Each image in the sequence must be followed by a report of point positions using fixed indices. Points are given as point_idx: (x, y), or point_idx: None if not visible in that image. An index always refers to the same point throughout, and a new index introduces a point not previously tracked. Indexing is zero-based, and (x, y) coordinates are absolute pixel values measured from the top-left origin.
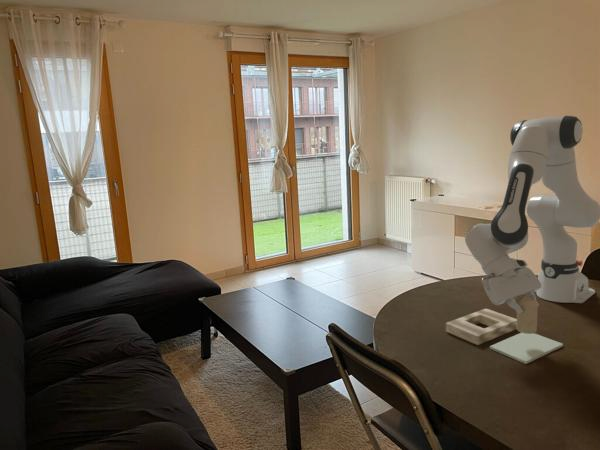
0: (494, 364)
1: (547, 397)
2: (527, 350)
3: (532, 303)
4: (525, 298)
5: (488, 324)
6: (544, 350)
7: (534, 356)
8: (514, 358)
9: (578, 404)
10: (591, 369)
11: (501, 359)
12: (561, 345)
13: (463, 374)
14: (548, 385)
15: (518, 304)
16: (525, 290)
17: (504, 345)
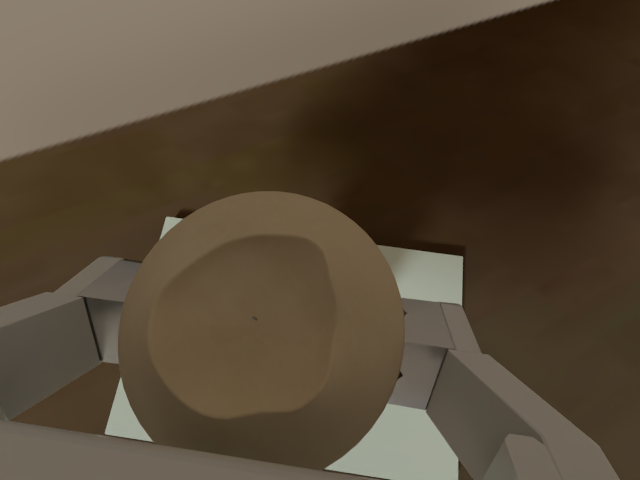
0: (577, 362)
1: (609, 104)
2: None
3: (308, 216)
4: (191, 385)
5: None
6: None
7: (386, 252)
8: None
9: (561, 34)
10: (307, 79)
11: (506, 364)
12: (180, 220)
13: None
14: (537, 131)
15: (383, 408)
16: (5, 471)
17: (386, 425)
